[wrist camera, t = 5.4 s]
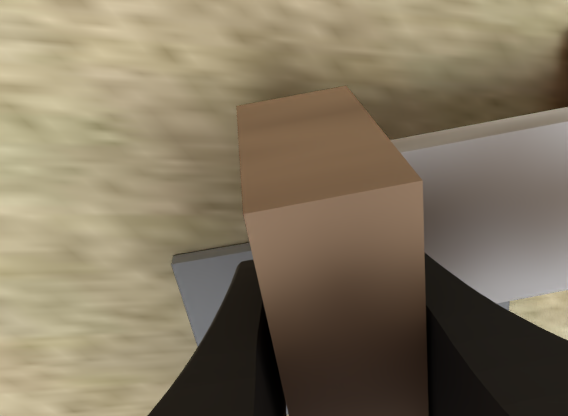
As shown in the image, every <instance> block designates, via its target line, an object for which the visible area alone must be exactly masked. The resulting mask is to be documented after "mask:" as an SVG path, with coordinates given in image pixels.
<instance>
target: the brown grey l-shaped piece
mask: <svg viewBox="0 0 568 416" xmlns="http://www.w3.org/2000/svg"><path fill="white" fill-rule="evenodd" d="M236 108H237V124H238V140H239V156H240V172H241V188H242V204H243V216H244V220H245V225H246V229H247V234H248V238H249V242H250V247H251V251H252V255H253V260H254V264H255V269H256V273H257V277H258V282H259V286H260V291H261V295H262V299H263V304H264V308H265V313H266V317H267V321H268V326H269V330H270V334H271V339H272V343H273V348H274V352H275V356H276V361H277V365H278V370H279V374H280V378H281V383H282V387H283V391H284V396H285V400H286V405H287V409H288V413H289V416H429V410H428V371H427V332H426V293H425V254H424V252H425V253H426V254H427V255H429V256H430V257H431V258H432V259H434V260H435V261H436V262H437V263H439V264H440V265H441V266H443V267H444V268H445V269H447V270H448V271H449V272H451V273H452V274H453V275H455V276H456V277H458V278H459V279H460V280H462V281H463V282H464V283H466V284H467V285H469V286H470V287H472V288H473V289H474V290H476V291H477V292H479V293H481V294H482V295H484V296H485V297H487V298H488V299H490V300H492V301H493V302H495V303H496V304H497V303H502V302H507V301H512V300H518V299H523V298H528V297H533V296H538V295H544V294H549V293H554V292H559V291H564V290H568V107H564V108H559V109H554V110H548V111H543V112H538V113H532V114H527V115H522V116H516V117H511V118H506V119H500V120H495V121H490V122H484V123H479V124H474V125H468V126H463V127H458V128H452V129H447V130H442V131H436V132H431V133H426V134H420V135H415V136H409V137H404V138H399V139H393V140H390V139H389V138H388V137H387V136H386V134H385V133H384V132H383V131H382V129H381V128H380V127H379V126H378V124H377V123H376V122H375V121H374V119H373V118H372V117H371V116H370V115H369V113H368V112H367V111H366V110H365V108H364V107H363V106H362V105H361V103H360V102H359V101H358V100H357V98H356V97H355V96H354V95H353V93H352V92H351V91H350V90H349V88H348V87H347V86H341V87H336V88H331V89H325V90H320V91H314V92H309V93H304V94H298V95H293V96H287V97H282V98H277V99H271V100H266V101H260V102H255V103H250V104H244V105H239V106H236Z"/></svg>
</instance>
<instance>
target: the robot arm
mask: <svg viewBox="0 0 568 416" xmlns="http://www.w3.org/2000/svg"><path fill="white" fill-rule="evenodd" d="M424 254H425V293H426V332H427V371H428V410H429V416H568V340H566V339H563V338H561V337H559V336H557V335H555V334H552V333H550V332H548V331H546V330H544V329H542V328H540V327H538V326H536V325H534V324H532V323H531V322H529V321H527V320H525V319H523V318H521V317H519V316H517V315H516V314H514V313H512V312H510V311H508V310H507V309H505V308H503V307H501V306H500V305H498V304H496V303H495V302H493V301H492V300H490V299H488V298H487V297H485V296H484V295H482V294H481V293H479V292H477V291H476V290H474V289H473V288H472V287H470V286H469V285H467V284H466V283H464V282H463V281H462V280H460V279H459V278H458V277H456V276H455V275H453V274H452V273H451V272H449V271H448V270H447V269H445V268H444V267H443V266H441V265H440V264H439V263H437V262H436V261H435V260H434V259H432V258H431V257H430V256H429V255H427V254H426V253H425V252H424ZM148 416H286V400H285V396H284V391H283V387H282V383H281V378H280V374H279V370H278V365H277V361H276V356H275V352H274V348H273V343H272V339H271V334H270V330H269V326H268V321H267V317H266V313H265V308H264V304H263V299H262V295H261V291H260V286H259V282H258V277H257V273H256V269H255V264H254V260H247V261H241V262H240V263H239V265H238V266H237V268H236V271H235V274H234V276H233V279H232V281H231V284H230V286H229V289H228V291H227V293H226V295H225V297H224V300H223V302H222V304H221V306H220V308H219V310H218V312H217V314H216V316H215V318H214V320H213V322H212V323H211V325H210V327H209V329H208V331H207V332H206V334H205V336H204V337H203V339H202V341H201V342H200V344H199V346H198V348H197V349H196V351H195V353H194V354H193V356H192V357H191V359H190V360H189V362H188V363H187V365H186V366H185V368H184V369H183V371H182V372H181V373H180V375H179V376H178V378H177V379H176V380H175V382H174V383H173V385H172V386H171V387H170V389H169V390H168V391H167V392H166V394H165V395H164V396H163V397H162V399H161V400H160V401H159V402H158V404H157V405H156V406H155V407H154V409H153V410H152V411H151V412H150V413H149V415H148Z"/></svg>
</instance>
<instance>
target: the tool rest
mask: <svg viewBox="0 0 568 416" xmlns="http://www.w3.org/2000/svg"><path fill="white" fill-rule="evenodd" d="M247 260H253V255H252V251H251V247H250V243H245V244H239V245H233V246H227V247H221V248H215V249H210V250H204V251H198V252H192V253H186V254H180V255H174V256H173V258H172V263H171V265H172V268H173V272H174V275H175V278H176V281H177V284H178V287H179V290H180V293H181V296H182V299H183V303H184V306H185V309H186V312H187V315H188V318H189V321H190V324H191V327H192V330H193V334H194V337H195V340H196V343H197V346H199V344H200V342H201V341H202V339H203V337H204V336H205V334H206V332H207V331H208V329H209V327H210V325H211V323H212V322H213V320H214V318H215V316H216V314H217V312H218V310H219V308H220V306H221V304H222V302H223V300H224V297H225V295H226V293H227V291H228V289H229V286H230V284H231V281H232V279H233V276H234V274H235V271H236V268H237V266H238V265H239V263H240V262H241V261H247ZM497 304H498V305H500V306H501V307H503V308H505V309H507V310H508V311H509V301H507V302H502V303H497ZM288 414H289V413H288V409H287V405H286V415H288Z"/></svg>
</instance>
